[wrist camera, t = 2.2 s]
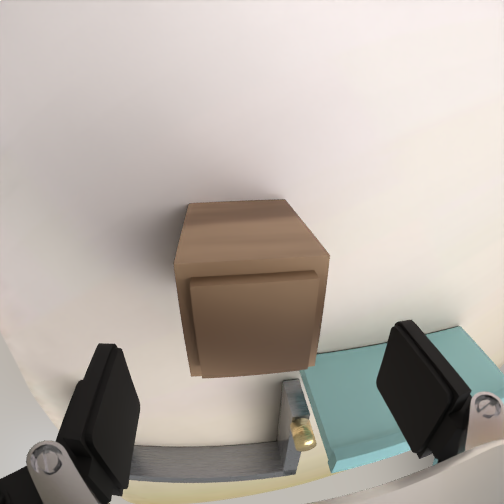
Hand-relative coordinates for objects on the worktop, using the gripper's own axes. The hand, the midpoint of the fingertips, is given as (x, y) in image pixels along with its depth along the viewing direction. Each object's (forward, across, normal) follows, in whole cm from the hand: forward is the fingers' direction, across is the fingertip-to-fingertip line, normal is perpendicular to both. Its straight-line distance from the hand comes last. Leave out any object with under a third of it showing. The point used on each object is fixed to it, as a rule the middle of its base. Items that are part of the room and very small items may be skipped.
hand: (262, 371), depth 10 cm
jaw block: (+8, 0, -1) cm, 9 cm away
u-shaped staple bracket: (+9, +4, +15) cm, 18 cm away
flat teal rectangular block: (+9, -11, +8) cm, 16 cm away
